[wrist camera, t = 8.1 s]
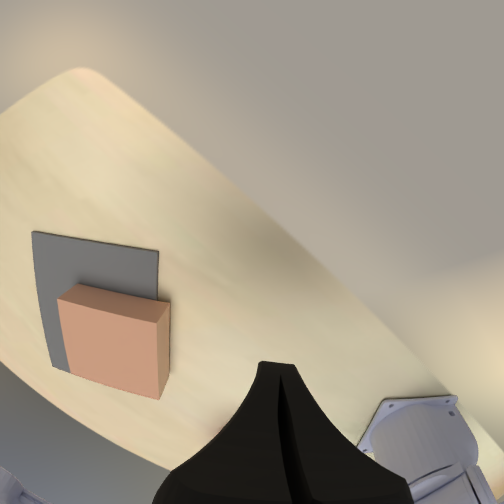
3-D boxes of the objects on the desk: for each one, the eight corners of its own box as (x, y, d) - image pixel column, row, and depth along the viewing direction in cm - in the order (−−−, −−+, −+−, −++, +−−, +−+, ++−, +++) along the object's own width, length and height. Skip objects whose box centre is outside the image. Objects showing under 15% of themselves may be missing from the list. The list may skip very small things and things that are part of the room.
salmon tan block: (156, 323, 18) (57, 298, 18) (159, 400, 20) (70, 373, 20) (170, 302, 22) (78, 282, 22) (169, 375, 24) (87, 353, 24)
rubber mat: (158, 251, 21) (157, 252, 21) (159, 397, 25) (159, 399, 25) (33, 231, 21) (31, 231, 21) (53, 364, 25) (52, 366, 25)
